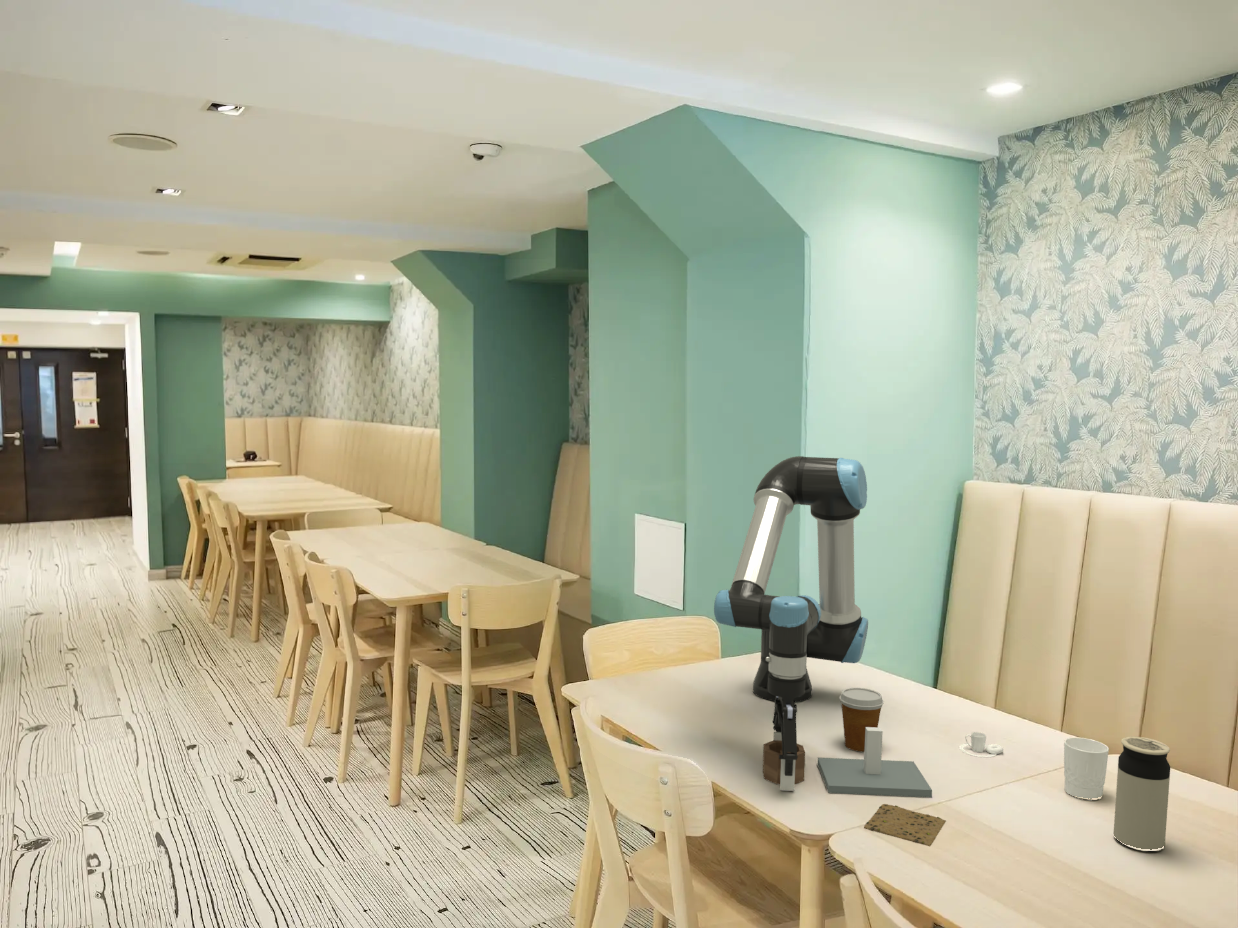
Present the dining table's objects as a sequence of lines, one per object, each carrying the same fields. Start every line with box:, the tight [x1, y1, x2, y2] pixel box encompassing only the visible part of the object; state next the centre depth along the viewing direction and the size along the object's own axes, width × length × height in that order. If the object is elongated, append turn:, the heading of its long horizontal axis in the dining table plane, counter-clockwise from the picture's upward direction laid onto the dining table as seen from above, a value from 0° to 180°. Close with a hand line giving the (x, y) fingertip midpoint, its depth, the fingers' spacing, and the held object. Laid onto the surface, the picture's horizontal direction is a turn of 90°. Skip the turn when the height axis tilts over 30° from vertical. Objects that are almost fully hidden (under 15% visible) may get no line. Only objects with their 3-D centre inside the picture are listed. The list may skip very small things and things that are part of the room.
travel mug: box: [1113, 736, 1171, 850], centre depth 164 cm, size 8×8×18 cm
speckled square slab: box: [863, 803, 947, 847], centre depth 170 cm, size 12×12×1 cm
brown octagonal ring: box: [762, 740, 806, 785], centre depth 190 cm, size 8×8×6 cm
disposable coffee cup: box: [839, 687, 885, 753], centre depth 206 cm, size 10×10×12 cm
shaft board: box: [816, 727, 933, 798], centre depth 189 cm, size 14×20×10 cm
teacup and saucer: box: [958, 731, 1004, 758], centre depth 206 cm, size 9×8×4 cm
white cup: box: [1063, 736, 1110, 799], centre depth 184 cm, size 8×8×10 cm
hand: (783, 775), depth 190 cm, fingers open, 13 cm apart
